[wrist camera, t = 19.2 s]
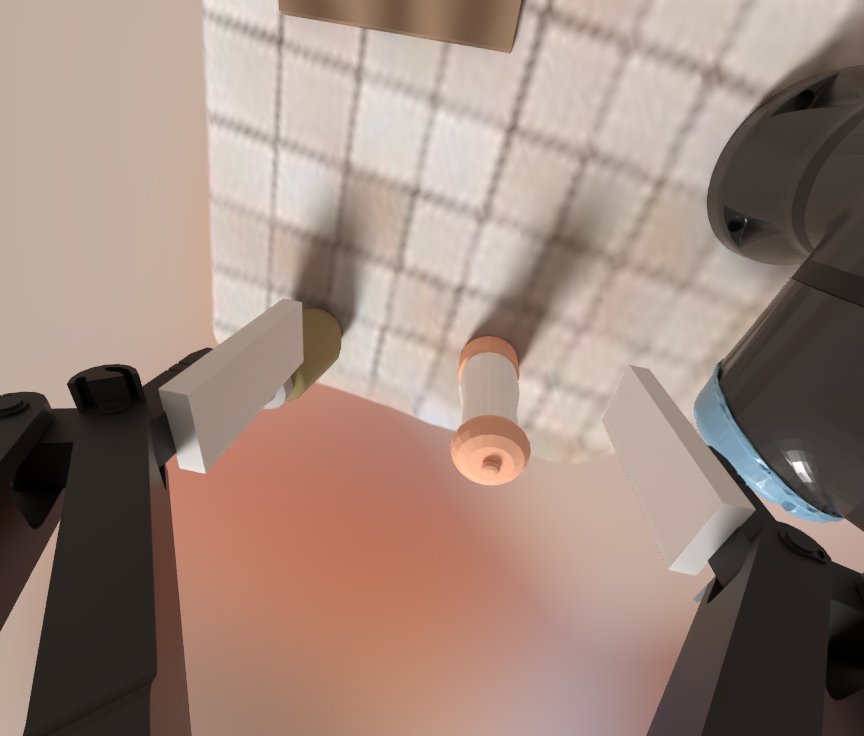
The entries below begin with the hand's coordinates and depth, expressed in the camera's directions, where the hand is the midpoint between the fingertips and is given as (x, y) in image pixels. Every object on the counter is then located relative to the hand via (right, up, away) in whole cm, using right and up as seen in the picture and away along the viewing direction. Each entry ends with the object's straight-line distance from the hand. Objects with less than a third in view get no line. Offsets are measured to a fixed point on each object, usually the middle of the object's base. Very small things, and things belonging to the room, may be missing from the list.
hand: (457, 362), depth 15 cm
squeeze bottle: (-15, +5, +33) cm, 37 cm away
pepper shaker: (+6, +1, +32) cm, 33 cm away
